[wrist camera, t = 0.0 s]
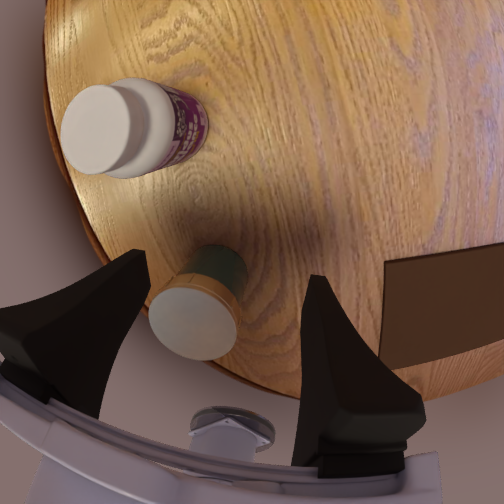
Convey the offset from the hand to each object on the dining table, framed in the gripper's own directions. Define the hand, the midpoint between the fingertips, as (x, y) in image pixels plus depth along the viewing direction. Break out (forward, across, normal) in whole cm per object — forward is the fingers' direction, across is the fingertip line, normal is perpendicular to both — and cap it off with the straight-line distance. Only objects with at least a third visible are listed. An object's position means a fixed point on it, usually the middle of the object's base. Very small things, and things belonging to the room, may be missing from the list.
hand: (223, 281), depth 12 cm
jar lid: (+2, +2, +5) cm, 6 cm away
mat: (+8, -25, +6) cm, 27 cm away
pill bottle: (+10, +6, -4) cm, 13 cm away
